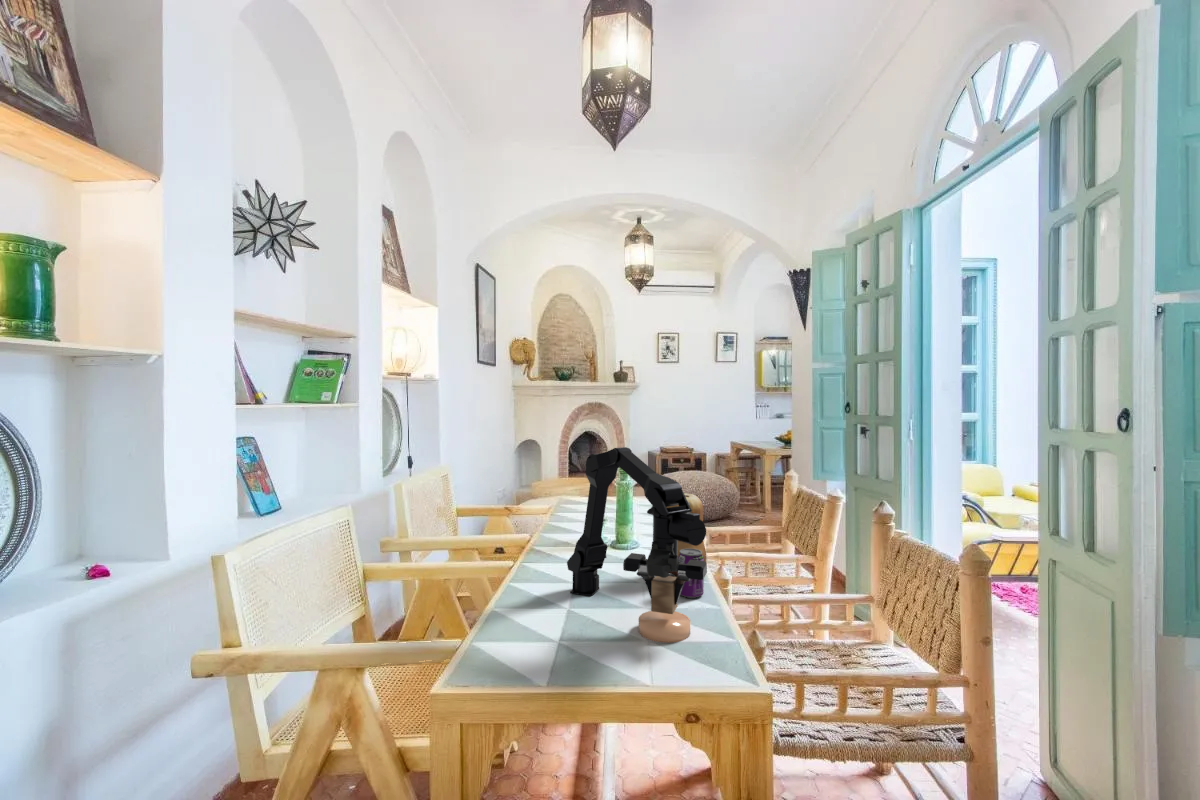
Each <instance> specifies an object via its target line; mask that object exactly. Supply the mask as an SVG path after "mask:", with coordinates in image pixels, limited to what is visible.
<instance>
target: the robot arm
mask: <svg viewBox="0 0 1200 800" xmlns="http://www.w3.org/2000/svg"><path fill="white" fill-rule="evenodd" d="M618 469H621V470H622V471H624V472H625V474H627V475H628V476H629V477H630V478H631V479H632V480H633V481H635V483H636V484H637V485H639V486H640V487H641V488H642V489H643V494H644V498H646V499H647V501H648V502H649V503H650V505H651V507H650V508H648V510H647V511H646V513H647V515H652V516H653V517H652V542H651V549H650V552H649V554H648V557H647V556H646V554H643V553H635V552H631V553H630V554H629V555H628V556H627V557H625V559H624V560H623V563H622V564H623V565H622V567H623V568H622V569H623V571H625V572H632V573H633V572H634V573H636V576H639V577H641V578H642V579H643V581H644V582H645V584H646V585H645V586H646V588H647V590H648V594H649V596H650V598H651V586H652V580H653V579H654V578H655V576H660V577H662V578H666V577H668V576H670V573H669V572H672V571H674V572H677V571H678V573H679V575H678V576H677V577H676V576H675V577H676V588H675V597H674V604H675V605H676V604H677V605H678V602H679V599H680V596H681V595H680V594H681V591H682V588H683V585H684V583H685V581H686V582H687V581H689V580H690V579H697V580H703V579H704V580H705V577H706V575H707V573H708V565H707V564H708V563H707V564H706V563H705V561H698V560H689V562H688V563H687V564H683V563H679V559H678V556H677V548H678V541H681V542H684V543H688V544H691V545H694V546H697V545H699V544H701V543H702V542H704V541H705V538H706V535H707V528H706V524H705V523H704V520H703V521H701V520H700V515H699V514H697V513H689V512H691V511H692V510H691V508H690V506H689V503H688V501H687V499H686V497H685V495H684V491H683V487H682V485H681V484H680V483H679V482H678V481H676V480H674V479H672V478H671V477H668V476H665V475H662V474H659V473H657V472H656V471H655V470H653V468H651V467H650V466H649V465H647V463H645V462H644V461H643V460H642V459H640V458H639V457H638V456H637V455H636V454H635V453H634V452H632V450H631V448H629V447H628V446H626V447H625V446H624V447H614V448H611V449H610V450H607V451H604V452H601V453H592V454H590V455H589V456H587V458H586V461H585V476H586V477H587V480H588V482H589V489H588V490H589V491H588V499H587V503H586V512H585V519H584V526H583V533H582V535H581V536H580V538H579V539H578V540H577V541H576V543H575V546H574V550H573V553H572V555H571V556H570V557H569V559H568V560H567V561H566V566H567V570H568V571H570V572H572V589H571V590H570V591H569V592H570V594H574V595H581V596H590V597H591V596H593V595H595V594H596V593H597V592H598V590H600V575H599V574H598V569H600V570H601V569H603V565H604V562H605V559H607V550H608V544H607V543H605V541H604V538H602V533H603V528H604V527H603V526H604V519H605V513H606V506H607V505H606V504H607V501H608V500H607V499H608V491H609V487H610V486H611V484H612V483H613V481H614V480H615V479H616V477H617V474H618ZM676 505H679V506H676ZM670 506H676V507H670ZM666 507H669V508H666Z"/></svg>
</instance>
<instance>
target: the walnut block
mask: <svg viewBox="0 0 1200 800" xmlns="http://www.w3.org/2000/svg"><path fill="white" fill-rule="evenodd" d="M675 588H676V576H674V575H672V576H671V575H668V577H666V578H662V577H660V576H655V578H654V579H653V580H652V586H651V597H650V603H651V605H650V606H651V607H650V611H653V612H660V613H667V614H673V613H674V611H675V612H676V610H677V608H678V603H677V604H676V605H675V604H674V597H675Z"/></svg>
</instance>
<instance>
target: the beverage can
mask: <svg viewBox="0 0 1200 800" xmlns="http://www.w3.org/2000/svg"><path fill="white" fill-rule="evenodd" d="M678 559H679V563H683V564H687V563H688V562H689V560H698V561H704V558H703V556H702V551H700V550H697V549H682V550H680V554H679V556H678ZM678 575H679V573H678ZM704 580H705V578H704V579H703V580H697V579H690V580H689V581H687V582H686V581H685V583H684V585H683V588H682V591H681V594H680V596H682V597H683V596H684V598H686V597H687V599H696V597H697V598H699V597H700V596H703V595H704V592H705V589H704V586H705V582H704Z"/></svg>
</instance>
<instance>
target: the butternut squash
mask: <svg viewBox="0 0 1200 800" xmlns="http://www.w3.org/2000/svg"><path fill="white" fill-rule="evenodd" d="M683 493H684V492H683ZM684 495H685V497H686V499H687V501H688V503H689V506H690V508H691V510H692V511H691V512H689V513H697V514H699V515H700V520H701V521H703V522H704V519H703V518H704V517H703V515H704V514H703V513H704V505H703V503H702V501H701V499H700V498H699V497H698V496H697V495H696V494H692V493H687V492H686V493H684ZM676 506H679V505H676ZM676 506H670V507H676ZM666 508H669V507H666ZM682 549H697V550H700V551H702V556H703V558H704V561H705V563H706V564H708V563H707V556H708V555H707V549H706V545H705V543H704V541H703V542H702V543H701V544H699V545H697V546H694V545H691V544H688V543H684V542H681V541H678V548H677V556H679V554H680V550H682ZM669 575H672V576H673V577H677V576H678V571H677V572H674V571H672V572H669Z"/></svg>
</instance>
